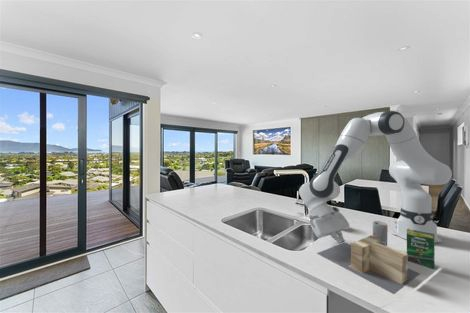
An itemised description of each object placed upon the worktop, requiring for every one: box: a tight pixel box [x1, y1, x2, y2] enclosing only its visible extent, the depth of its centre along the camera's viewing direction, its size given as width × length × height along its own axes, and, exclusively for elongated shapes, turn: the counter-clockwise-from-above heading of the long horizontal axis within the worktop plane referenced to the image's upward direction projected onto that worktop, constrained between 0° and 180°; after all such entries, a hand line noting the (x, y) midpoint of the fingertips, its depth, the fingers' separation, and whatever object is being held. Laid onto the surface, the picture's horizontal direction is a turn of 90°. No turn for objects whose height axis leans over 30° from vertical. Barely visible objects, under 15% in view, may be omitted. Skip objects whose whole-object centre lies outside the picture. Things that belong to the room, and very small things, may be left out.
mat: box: [316, 241, 421, 295], centre depth 78 cm, size 20×28×1 cm
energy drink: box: [372, 220, 389, 247], centre depth 89 cm, size 5×5×12 cm
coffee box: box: [406, 229, 436, 270], centre depth 77 cm, size 8×3×13 cm, turn 39°
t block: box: [350, 235, 409, 284], centre depth 73 cm, size 14×14×9 cm
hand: (342, 242), depth 86 cm, fingers closed
